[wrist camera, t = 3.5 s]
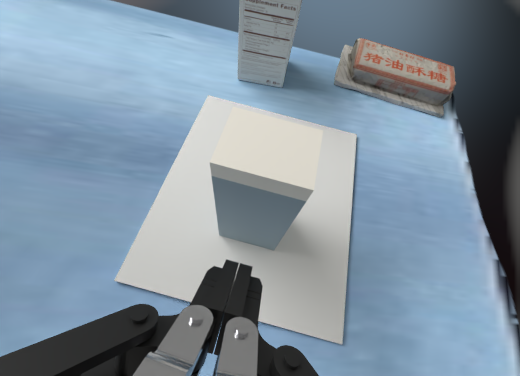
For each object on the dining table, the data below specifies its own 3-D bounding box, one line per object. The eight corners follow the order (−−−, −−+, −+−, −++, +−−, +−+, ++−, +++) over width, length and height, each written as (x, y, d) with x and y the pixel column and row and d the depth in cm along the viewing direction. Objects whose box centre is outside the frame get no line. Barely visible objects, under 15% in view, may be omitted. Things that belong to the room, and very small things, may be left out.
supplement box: (244, 51, 41) (249, -46, 30) (287, 60, 42) (307, -34, 31) (235, 80, 38) (238, -18, 27) (282, 89, 38) (304, -4, 27)
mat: (115, 281, 23) (114, 280, 23) (208, 97, 36) (208, 95, 35) (340, 344, 23) (342, 344, 22) (355, 136, 35) (356, 134, 35)
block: (219, 235, 26) (209, 162, 14) (231, 198, 28) (233, 106, 16) (273, 250, 26) (313, 190, 14) (282, 212, 28) (323, 130, 16)
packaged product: (458, 57, 40) (463, 97, 35) (436, 82, 44) (438, 120, 39) (352, 25, 41) (343, 59, 36) (340, 52, 45) (331, 86, 40)
